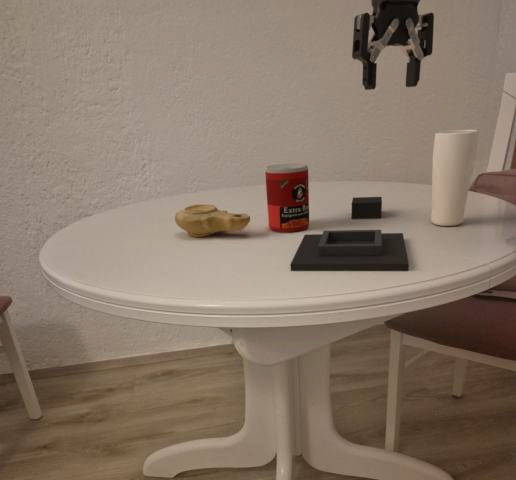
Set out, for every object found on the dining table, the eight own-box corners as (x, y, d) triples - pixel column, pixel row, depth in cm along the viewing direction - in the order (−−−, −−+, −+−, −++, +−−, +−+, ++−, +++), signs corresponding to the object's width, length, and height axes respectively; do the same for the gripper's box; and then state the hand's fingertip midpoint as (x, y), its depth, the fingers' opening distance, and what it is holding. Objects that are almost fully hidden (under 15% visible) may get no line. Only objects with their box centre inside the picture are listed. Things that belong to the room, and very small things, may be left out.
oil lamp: (251, 238, 85) (249, 210, 83) (171, 244, 86) (167, 216, 83) (251, 225, 95) (249, 199, 92) (179, 230, 95) (175, 204, 93)
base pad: (402, 239, 78) (403, 223, 77) (408, 270, 65) (409, 252, 63) (304, 240, 82) (304, 225, 81) (290, 270, 68) (290, 253, 67)
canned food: (283, 235, 86) (280, 170, 81) (260, 227, 92) (256, 167, 87) (318, 227, 89) (317, 164, 84) (294, 220, 95) (292, 162, 90)
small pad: (380, 211, 97) (381, 196, 96) (381, 218, 92) (381, 202, 91) (352, 212, 98) (352, 197, 97) (351, 218, 93) (351, 203, 92)
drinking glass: (441, 217, 90) (450, 129, 83) (475, 222, 85) (487, 129, 78) (418, 224, 86) (425, 133, 79) (451, 230, 81) (462, 133, 74)
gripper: (374, -40, 68) (369, 89, 75) (451, -37, 73) (440, 84, 80) (344, -27, 74) (342, 91, 81) (417, -25, 79) (410, 87, 86)
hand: (391, 88), depth 81 cm, fingers open, 8 cm apart
